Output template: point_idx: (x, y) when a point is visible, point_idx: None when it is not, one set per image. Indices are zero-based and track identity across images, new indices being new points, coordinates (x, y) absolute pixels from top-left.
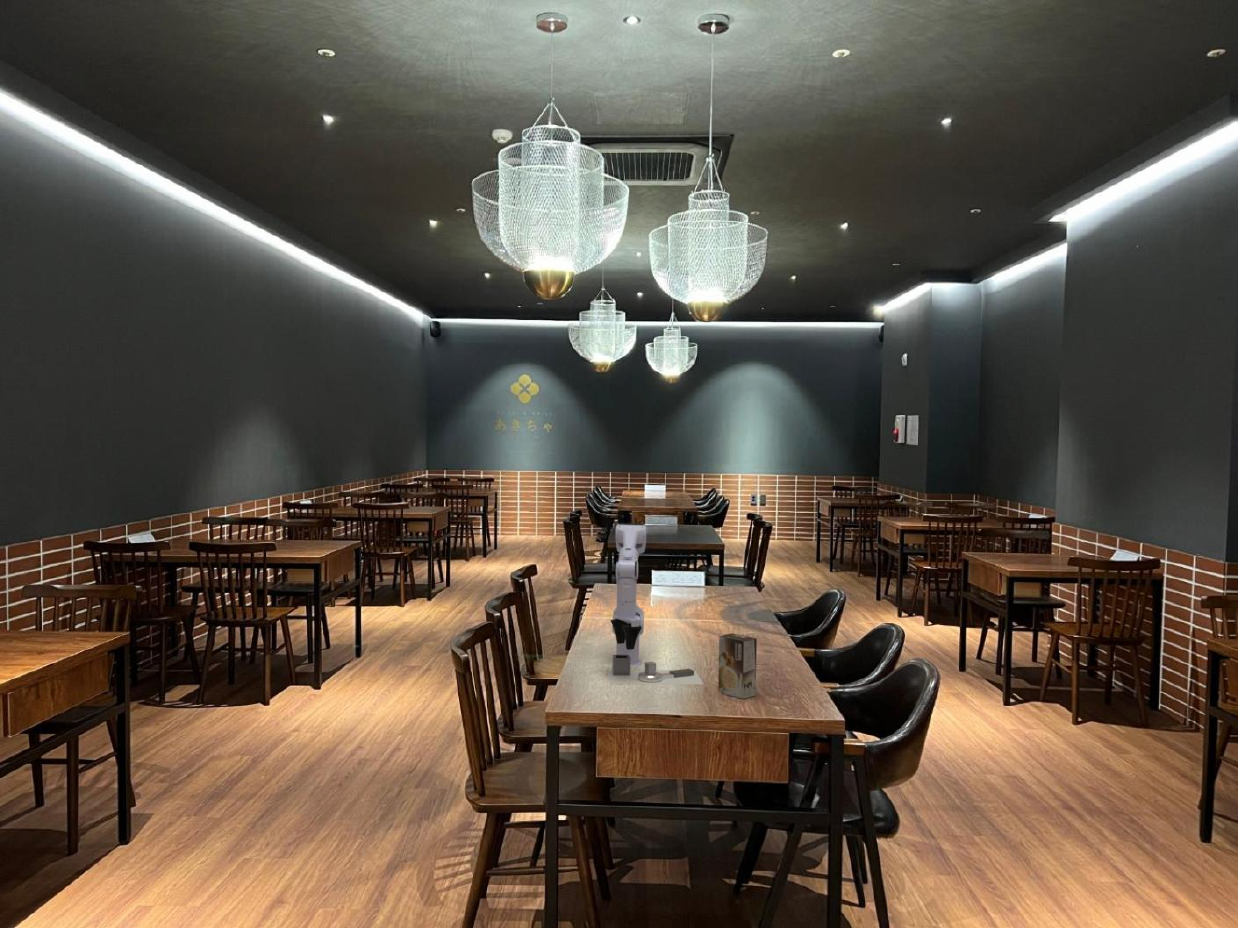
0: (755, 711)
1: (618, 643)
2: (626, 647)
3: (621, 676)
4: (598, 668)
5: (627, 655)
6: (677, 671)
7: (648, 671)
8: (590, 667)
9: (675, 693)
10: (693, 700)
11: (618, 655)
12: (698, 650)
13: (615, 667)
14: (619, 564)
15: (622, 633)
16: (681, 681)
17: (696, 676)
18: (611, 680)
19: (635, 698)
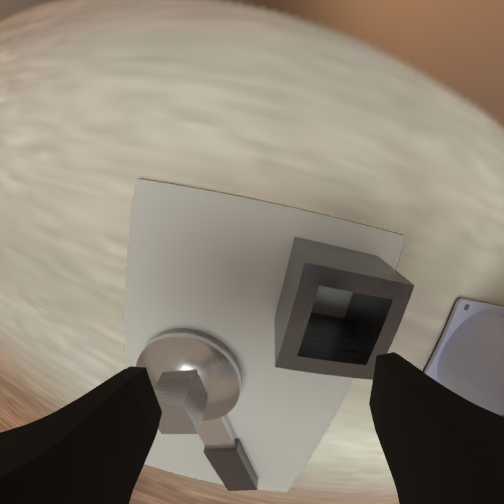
0: (2, 418)
1: (375, 362)
2: (132, 372)
3: (265, 272)
4: (456, 212)
5: (362, 368)
6: (226, 464)
7: (160, 382)
8: (475, 182)
9: (58, 371)
10: (19, 374)
11: (385, 318)
12: None
13: (296, 258)
14: None
15: (403, 459)
16: (161, 438)
17: (217, 479)
18: (195, 198)
19: (8, 237)
